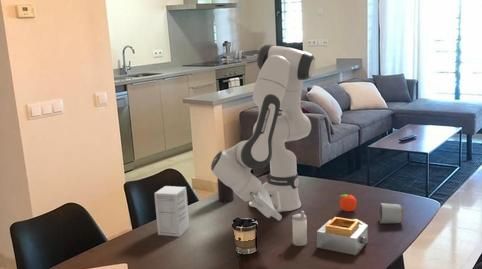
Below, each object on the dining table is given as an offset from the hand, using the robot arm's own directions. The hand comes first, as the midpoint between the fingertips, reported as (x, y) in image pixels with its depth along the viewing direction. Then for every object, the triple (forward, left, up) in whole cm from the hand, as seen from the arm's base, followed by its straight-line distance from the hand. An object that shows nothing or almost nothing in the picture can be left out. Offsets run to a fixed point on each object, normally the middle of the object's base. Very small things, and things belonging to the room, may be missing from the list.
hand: (278, 213), depth 185 cm
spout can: (+6, +4, -12) cm, 14 cm away
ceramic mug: (+28, +37, -12) cm, 48 cm away
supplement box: (-42, -7, -12) cm, 44 cm away
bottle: (-43, +32, -12) cm, 55 cm away
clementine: (+10, +41, -12) cm, 44 cm away
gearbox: (+20, +9, -12) cm, 25 cm away
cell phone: (+15, +25, -12) cm, 32 cm away
